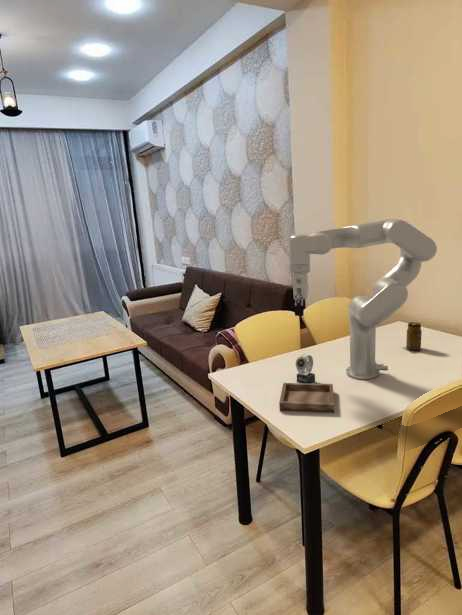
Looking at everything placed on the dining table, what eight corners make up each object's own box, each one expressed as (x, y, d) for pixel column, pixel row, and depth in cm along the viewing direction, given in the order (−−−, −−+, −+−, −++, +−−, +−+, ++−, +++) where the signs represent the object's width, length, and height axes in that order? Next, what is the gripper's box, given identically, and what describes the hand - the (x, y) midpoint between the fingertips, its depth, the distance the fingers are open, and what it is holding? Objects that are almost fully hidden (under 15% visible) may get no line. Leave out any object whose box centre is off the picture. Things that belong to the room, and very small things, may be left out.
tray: (332, 391, 150) (332, 383, 149) (334, 413, 135) (334, 404, 134) (283, 390, 154) (283, 382, 153) (279, 411, 139) (279, 402, 138)
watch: (294, 383, 159) (293, 357, 156) (305, 376, 165) (304, 350, 162) (306, 387, 155) (305, 360, 153) (317, 379, 161) (317, 353, 158)
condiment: (415, 345, 189) (416, 320, 186) (427, 351, 181) (428, 325, 178) (401, 347, 188) (402, 322, 185) (413, 353, 180) (414, 327, 177)
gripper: (308, 271, 144) (308, 318, 148) (311, 264, 160) (311, 306, 164) (287, 272, 146) (288, 318, 150) (292, 265, 162) (292, 306, 166)
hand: (300, 312), depth 157 cm, fingers open, 9 cm apart
